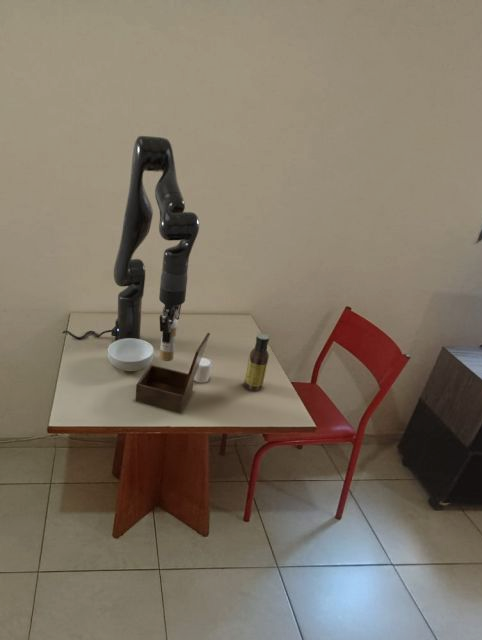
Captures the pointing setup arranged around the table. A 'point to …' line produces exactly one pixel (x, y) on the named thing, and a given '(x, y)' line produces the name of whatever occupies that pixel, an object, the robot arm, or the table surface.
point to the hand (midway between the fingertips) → (168, 338)
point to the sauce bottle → (257, 363)
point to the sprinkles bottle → (169, 344)
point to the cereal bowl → (130, 354)
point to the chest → (163, 388)
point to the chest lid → (195, 363)
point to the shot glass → (203, 370)
